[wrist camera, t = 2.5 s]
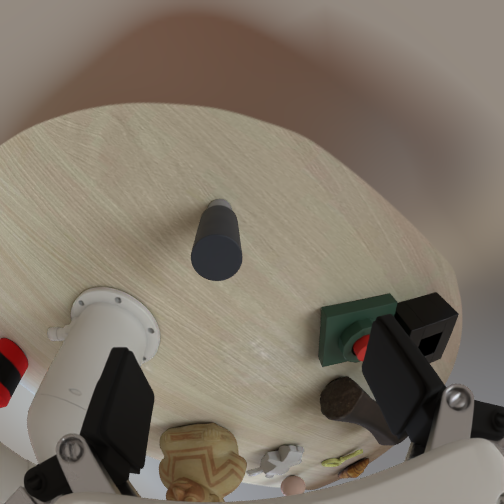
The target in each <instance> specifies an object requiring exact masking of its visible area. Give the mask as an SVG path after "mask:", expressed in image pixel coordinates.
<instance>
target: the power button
mask: <svg viewBox="0 0 504 504" xmlns="http://www.w3.org/2000/svg"><path fill="white" fill-rule="evenodd" d="M369 336H370V335H369V334H368V335H364V336H362V337H361V338H359V339H358V340H357V341H356V342H355V343H354V345H353V350H354V352H355V354H356V356H357V358H358V360H360V361H363V360H364V357H365V353H366V349H367V345H368V340H369Z"/></svg>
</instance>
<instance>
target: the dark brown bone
mask: <svg viewBox="0 0 504 504" xmlns="http://www.w3.org/2000/svg"><path fill="white" fill-rule="evenodd" d="M320 404H321V411H322V414H323V415H325V416H326V417H327V418H328V419H331V420H335V421H342V422H350V423H355V424H358V425H360V426H362V427H364V428H366V429H367V430H369V431H370V432H371V433H372V434H373V436H374V437H375V438H376V440H377V441H378V443H379V444H381V445H396V444H399V443H400V442H402V441H403V440H405V438H407V437H408V436H407V437H405V438H402V439H400V440H398V438H397V436H396V435H393V434H392V433H391V431H390V429H389V426H388V424H387V422H386V420H385V418H384V416H383V414H382V412H381V410H380V407H379V405H378V403H377V402H376V401H374V400H373V399H371V398H370V396H369V395H368V394H367V393H366V392H365V391H364V390H362V388H361V387H360V386H359V385H358V384H357V383H356V382H354V381H353V380H352V379H351V378H349V377H348V376H346V377H342V378H339V379H338V380H335V381H333V382H331V383H330V384H328V385H327V387H326V388H325V389H324V390H323V392H322V394H321V397H320Z"/></svg>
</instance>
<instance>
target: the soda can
mask: <svg viewBox="0 0 504 504" xmlns="http://www.w3.org/2000/svg"><path fill="white" fill-rule="evenodd" d="M27 367H28V361H27V358H26V356H25V354H24V353H23V351H22V350H21V349H20V348H19V347H18V346H17V345H16V344H15V343H14V342H12V341H11V340H9V339H6V338H1V339H0V408H2V407H6V406H7V405H8V403H9V400H10V399H11V397H12V395H13V393H14V391H15V389H16V387H17V385H18V383H19V382H20V380H21V378H22V376H23V374H24V373H25V371H26V369H27Z"/></svg>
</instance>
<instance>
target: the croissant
mask: <svg viewBox="0 0 504 504" xmlns="http://www.w3.org/2000/svg"><path fill="white" fill-rule="evenodd" d="M368 463H369V459H368V458H365V459H363V460H360V461H359V462H357V463H355V464H353V465H351V466H349V467H347V468H346V469H345V470H343V471H342V472H340V473H339V474H338V477H339V478H349V477H350V478H356V477H358V476H359V475H360V474H361V473H363V471H364V469H365V468H366V467H367V465H368Z"/></svg>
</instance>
